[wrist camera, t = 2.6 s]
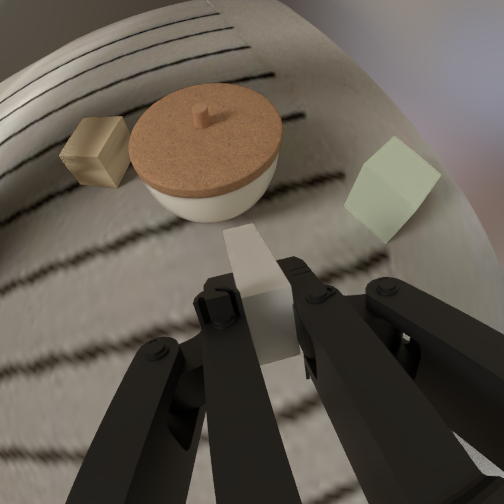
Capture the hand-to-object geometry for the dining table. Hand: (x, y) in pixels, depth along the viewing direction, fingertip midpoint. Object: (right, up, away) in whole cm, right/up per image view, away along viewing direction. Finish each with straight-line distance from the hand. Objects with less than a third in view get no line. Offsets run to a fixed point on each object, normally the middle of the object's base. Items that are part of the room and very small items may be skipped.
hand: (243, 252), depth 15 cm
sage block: (+12, +4, +10) cm, 16 cm away
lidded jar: (-3, +5, +11) cm, 13 cm away
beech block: (-14, +9, +12) cm, 21 cm away
